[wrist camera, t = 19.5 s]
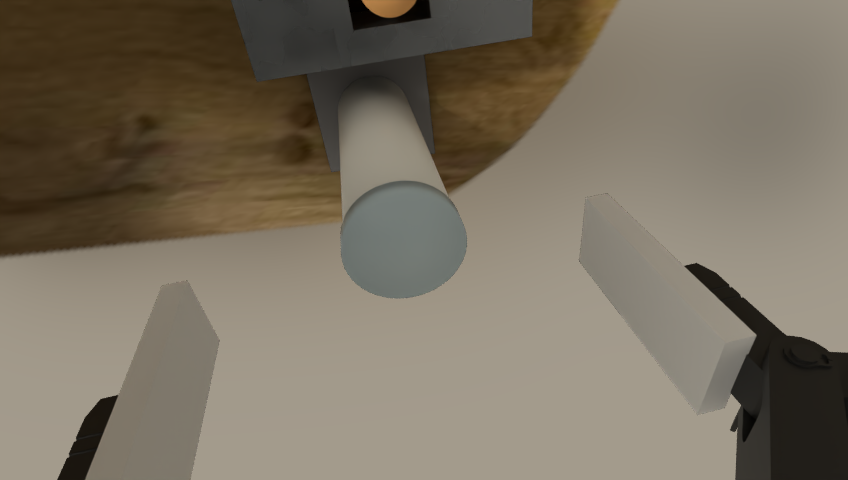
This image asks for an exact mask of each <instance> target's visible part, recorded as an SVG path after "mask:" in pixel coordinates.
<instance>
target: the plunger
mask: <svg viewBox="0 0 848 480" xmlns="http://www.w3.org/2000/svg"><path fill="white" fill-rule="evenodd" d="M362 1H363V3H364V4H365V6H366V7H367V8H368V9H369V10H370V11H372V12H373V13H375V14H376V15H379V16H381V17H386V18H393V17H398V16H400V15H403V14H404V13H406V12H407V11H409V10H410V9H411V8H412V6H413V5H414V4H415V2H416V0H362Z"/></svg>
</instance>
